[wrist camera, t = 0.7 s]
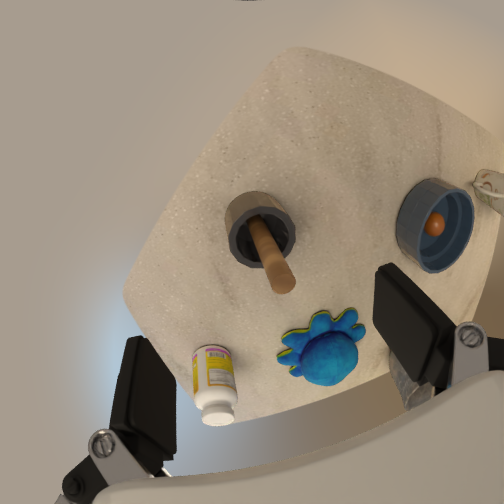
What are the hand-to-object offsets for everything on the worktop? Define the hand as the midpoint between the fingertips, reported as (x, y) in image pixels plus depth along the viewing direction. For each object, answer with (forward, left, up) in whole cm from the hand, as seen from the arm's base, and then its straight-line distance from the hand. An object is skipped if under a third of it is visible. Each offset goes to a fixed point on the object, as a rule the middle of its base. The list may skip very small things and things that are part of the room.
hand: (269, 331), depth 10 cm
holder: (+4, +4, -24) cm, 25 cm away
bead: (+1, +33, -22) cm, 39 cm away
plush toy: (+27, +20, -25) cm, 42 cm away
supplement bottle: (+29, 0, -25) cm, 38 cm away
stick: (+4, +4, -24) cm, 25 cm away
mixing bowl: (+1, +33, -24) cm, 41 cm away
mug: (-8, +46, -25) cm, 53 cm away
